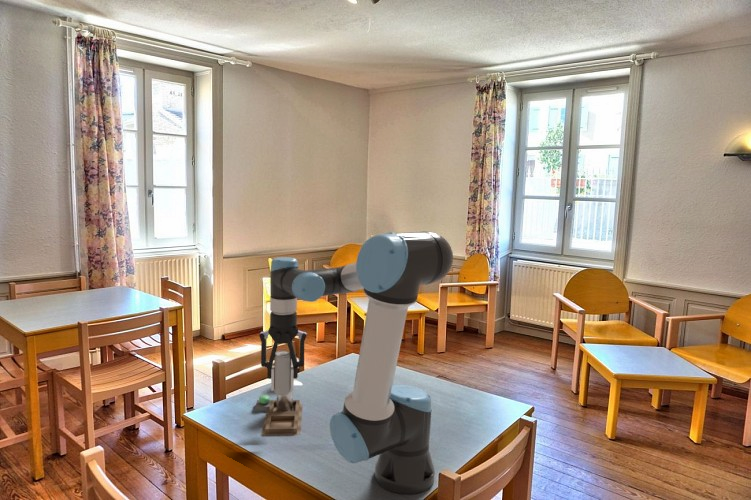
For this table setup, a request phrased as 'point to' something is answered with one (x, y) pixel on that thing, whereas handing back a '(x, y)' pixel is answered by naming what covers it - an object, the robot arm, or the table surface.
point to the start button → (264, 399)
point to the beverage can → (282, 373)
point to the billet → (285, 402)
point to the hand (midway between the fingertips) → (282, 388)
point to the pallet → (281, 419)
